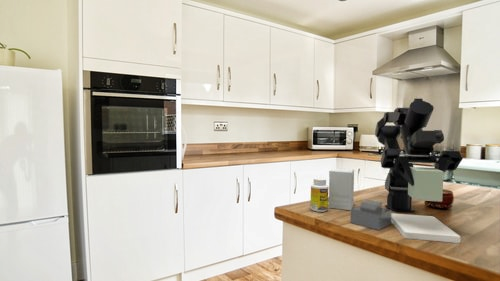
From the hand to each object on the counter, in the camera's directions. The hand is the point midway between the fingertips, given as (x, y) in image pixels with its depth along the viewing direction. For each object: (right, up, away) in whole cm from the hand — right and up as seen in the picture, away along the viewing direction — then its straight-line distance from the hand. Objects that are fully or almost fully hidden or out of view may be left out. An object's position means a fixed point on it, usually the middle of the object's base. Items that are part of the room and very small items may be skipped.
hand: (426, 185), depth 73 cm
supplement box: (-14, -11, +25) cm, 31 cm away
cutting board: (+1, -12, +4) cm, 13 cm away
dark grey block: (-11, -12, +8) cm, 18 cm away
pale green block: (0, -3, +1) cm, 4 cm away
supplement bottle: (-22, -11, +21) cm, 33 cm away
